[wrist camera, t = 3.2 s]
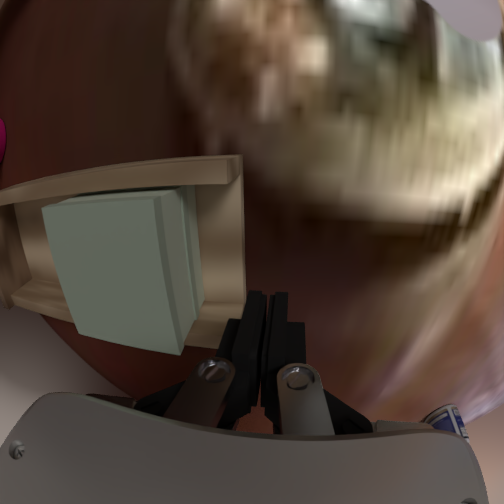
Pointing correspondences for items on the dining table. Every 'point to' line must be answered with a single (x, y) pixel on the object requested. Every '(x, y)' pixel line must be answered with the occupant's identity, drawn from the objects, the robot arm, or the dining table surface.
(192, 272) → the grey-green block
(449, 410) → the pill bottle
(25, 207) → the bay
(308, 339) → the dining table surface
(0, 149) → the pepper mill
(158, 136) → the dining table surface
